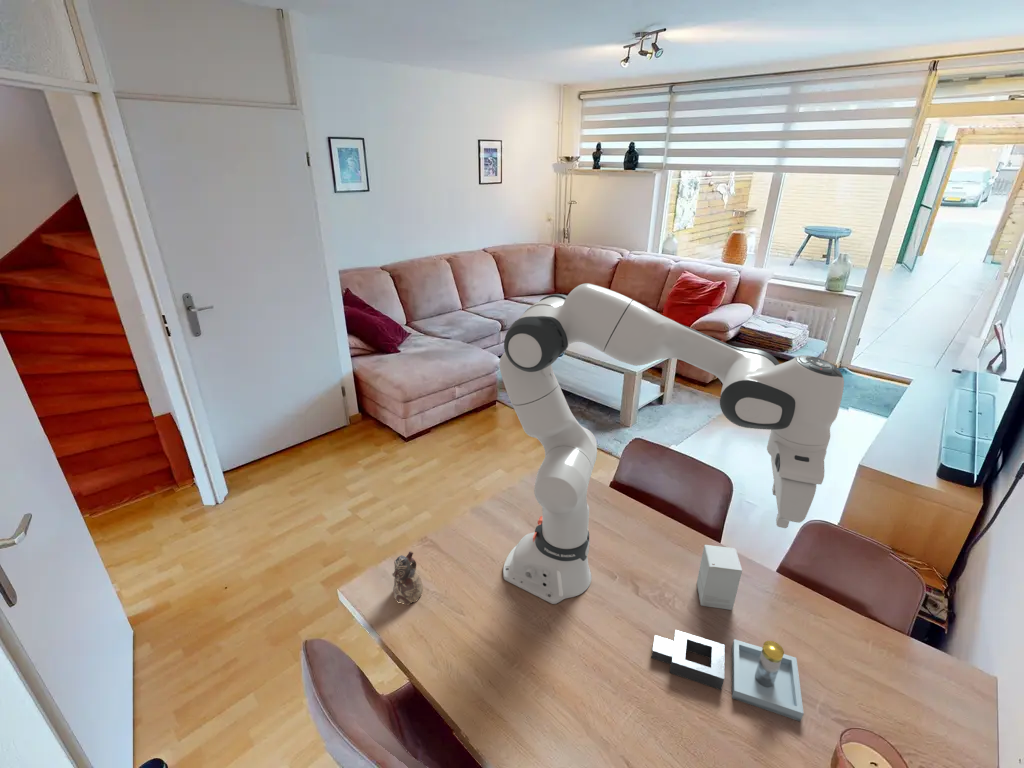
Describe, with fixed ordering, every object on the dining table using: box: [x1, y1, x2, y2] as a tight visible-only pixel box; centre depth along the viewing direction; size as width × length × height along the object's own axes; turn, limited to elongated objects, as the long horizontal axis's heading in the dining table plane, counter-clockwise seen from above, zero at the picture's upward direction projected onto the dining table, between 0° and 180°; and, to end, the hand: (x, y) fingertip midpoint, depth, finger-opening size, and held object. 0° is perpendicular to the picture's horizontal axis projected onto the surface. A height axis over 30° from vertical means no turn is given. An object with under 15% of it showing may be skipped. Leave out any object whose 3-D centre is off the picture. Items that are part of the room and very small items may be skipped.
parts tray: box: [731, 638, 804, 722], centre depth 100 cm, size 12×12×2 cm
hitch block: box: [651, 629, 726, 691], centre depth 104 cm, size 14×8×4 cm, turn 68°
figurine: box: [391, 550, 424, 604], centre depth 119 cm, size 7×7×12 cm
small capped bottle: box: [755, 640, 785, 688], centre depth 98 cm, size 4×4×9 cm
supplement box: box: [696, 544, 743, 611], centre depth 117 cm, size 7×7×13 cm
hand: (779, 508), depth 93 cm, fingers open, 8 cm apart
